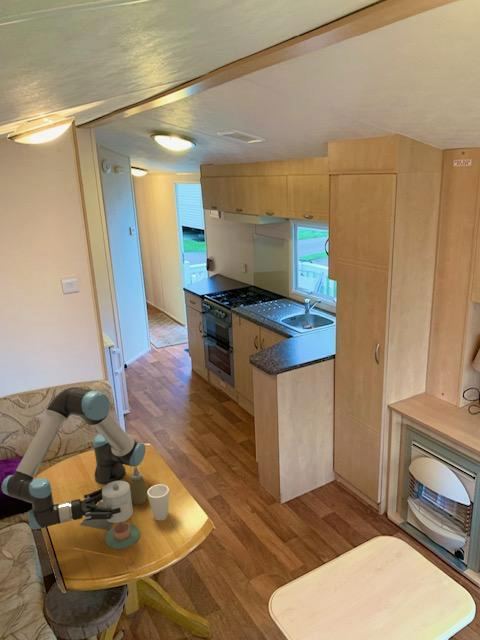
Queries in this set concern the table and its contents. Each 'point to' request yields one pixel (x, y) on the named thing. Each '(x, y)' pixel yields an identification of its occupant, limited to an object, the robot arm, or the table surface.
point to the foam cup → (159, 501)
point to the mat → (98, 521)
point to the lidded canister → (117, 499)
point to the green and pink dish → (122, 536)
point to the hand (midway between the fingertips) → (127, 497)
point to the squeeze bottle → (138, 488)
